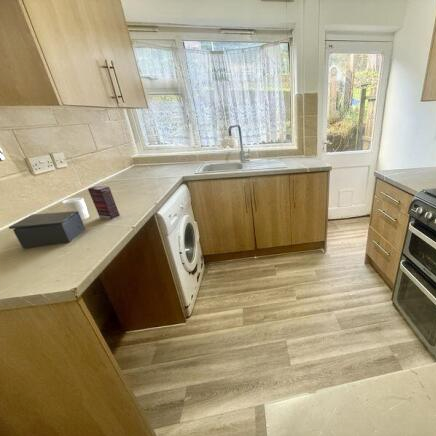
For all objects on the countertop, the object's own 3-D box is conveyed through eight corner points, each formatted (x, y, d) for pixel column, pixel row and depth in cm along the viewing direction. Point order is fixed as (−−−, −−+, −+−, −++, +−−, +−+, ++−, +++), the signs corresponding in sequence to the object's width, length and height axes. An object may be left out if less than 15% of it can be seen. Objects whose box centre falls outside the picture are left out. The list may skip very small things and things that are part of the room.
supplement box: (121, 216, 123) (109, 186, 116) (112, 220, 118) (99, 189, 112) (109, 215, 125) (97, 185, 119) (99, 219, 121) (86, 188, 115)
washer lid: (9, 229, 90) (8, 227, 90) (32, 216, 102) (32, 214, 101) (61, 224, 94) (60, 222, 94) (78, 212, 105) (78, 210, 105)
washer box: (23, 250, 94) (12, 229, 91) (44, 235, 106) (35, 217, 102) (70, 244, 98) (61, 224, 94) (86, 230, 109) (78, 212, 105)
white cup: (67, 220, 120) (58, 202, 116) (84, 214, 127) (76, 196, 122) (77, 222, 117) (68, 203, 113) (94, 216, 124) (86, 197, 120)
